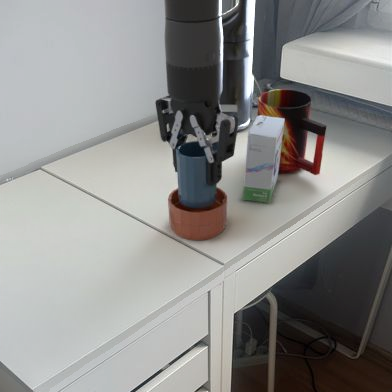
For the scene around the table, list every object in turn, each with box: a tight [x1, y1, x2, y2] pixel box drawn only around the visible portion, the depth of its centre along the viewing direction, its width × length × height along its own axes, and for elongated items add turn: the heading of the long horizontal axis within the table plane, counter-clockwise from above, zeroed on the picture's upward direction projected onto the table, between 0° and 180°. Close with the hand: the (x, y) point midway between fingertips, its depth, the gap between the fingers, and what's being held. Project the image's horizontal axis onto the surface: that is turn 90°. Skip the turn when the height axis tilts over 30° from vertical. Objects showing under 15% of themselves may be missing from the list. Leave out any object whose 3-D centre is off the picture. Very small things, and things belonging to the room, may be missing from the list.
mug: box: [257, 88, 327, 176], centre depth 95 cm, size 10×14×12 cm
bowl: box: [167, 186, 228, 241], centre depth 82 cm, size 9×9×5 cm
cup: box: [176, 140, 218, 208], centre depth 78 cm, size 6×6×8 cm
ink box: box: [242, 115, 285, 204], centre depth 88 cm, size 9×5×12 cm, turn 164°
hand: (196, 176), depth 78 cm, fingers closed on cup, 6 cm apart
